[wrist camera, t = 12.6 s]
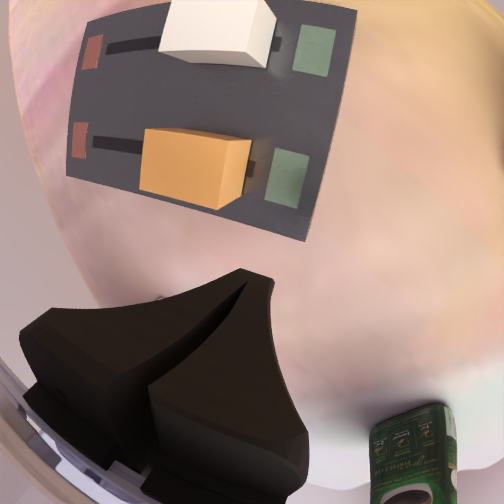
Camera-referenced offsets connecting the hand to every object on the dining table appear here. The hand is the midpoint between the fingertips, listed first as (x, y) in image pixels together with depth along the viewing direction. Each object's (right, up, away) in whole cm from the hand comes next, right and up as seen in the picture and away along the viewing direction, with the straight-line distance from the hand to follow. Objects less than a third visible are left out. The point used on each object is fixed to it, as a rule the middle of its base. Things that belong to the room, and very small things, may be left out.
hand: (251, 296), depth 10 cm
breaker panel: (-5, +13, +7) cm, 15 cm away
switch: (-1, +14, +3) cm, 15 cm away
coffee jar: (+18, -17, +12) cm, 27 cm away
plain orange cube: (-3, +7, +7) cm, 10 cm away
